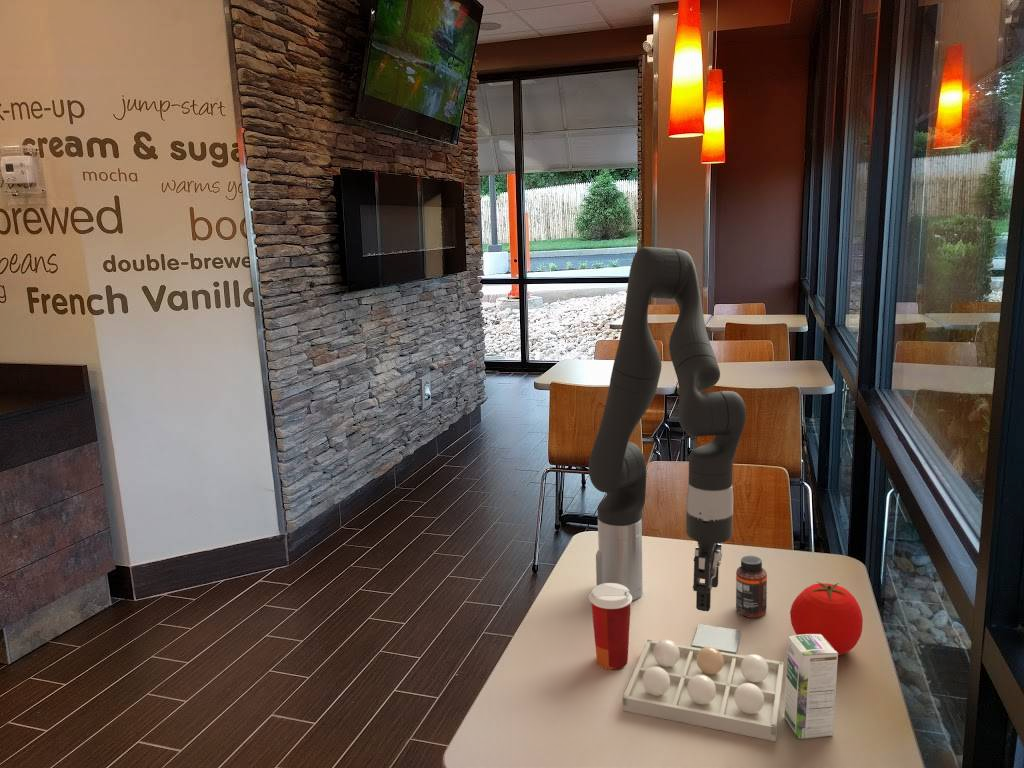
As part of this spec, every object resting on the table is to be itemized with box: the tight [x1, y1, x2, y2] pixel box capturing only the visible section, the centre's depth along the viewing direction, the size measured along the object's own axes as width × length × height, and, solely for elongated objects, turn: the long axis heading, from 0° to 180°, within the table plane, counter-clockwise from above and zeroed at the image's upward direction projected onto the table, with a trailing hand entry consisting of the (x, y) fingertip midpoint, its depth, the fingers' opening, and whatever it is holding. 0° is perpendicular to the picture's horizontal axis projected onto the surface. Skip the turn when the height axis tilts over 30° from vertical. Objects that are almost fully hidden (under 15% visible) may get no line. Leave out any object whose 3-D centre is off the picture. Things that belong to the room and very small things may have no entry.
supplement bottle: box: [735, 555, 768, 618], centre depth 155 cm, size 6×6×11 cm
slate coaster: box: [691, 623, 742, 654], centre depth 147 cm, size 8×8×1 cm
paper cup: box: [588, 583, 633, 670], centre depth 140 cm, size 8×8×14 cm
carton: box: [622, 639, 785, 742], centre depth 131 cm, size 24×18×6 cm
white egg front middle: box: [687, 675, 716, 705], centre depth 127 cm, size 5×5×5 cm
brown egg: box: [697, 647, 724, 675], centre depth 135 cm, size 5×5×5 cm
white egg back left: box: [654, 639, 680, 667], centre depth 137 cm, size 5×5×5 cm
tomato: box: [789, 581, 864, 656], centre depth 141 cm, size 12×12×13 cm
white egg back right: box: [740, 653, 769, 683], centre depth 132 cm, size 5×5×5 cm
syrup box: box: [783, 634, 839, 740], centre depth 120 cm, size 6×6×14 cm
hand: (707, 597), depth 132 cm, fingers open, 8 cm apart
